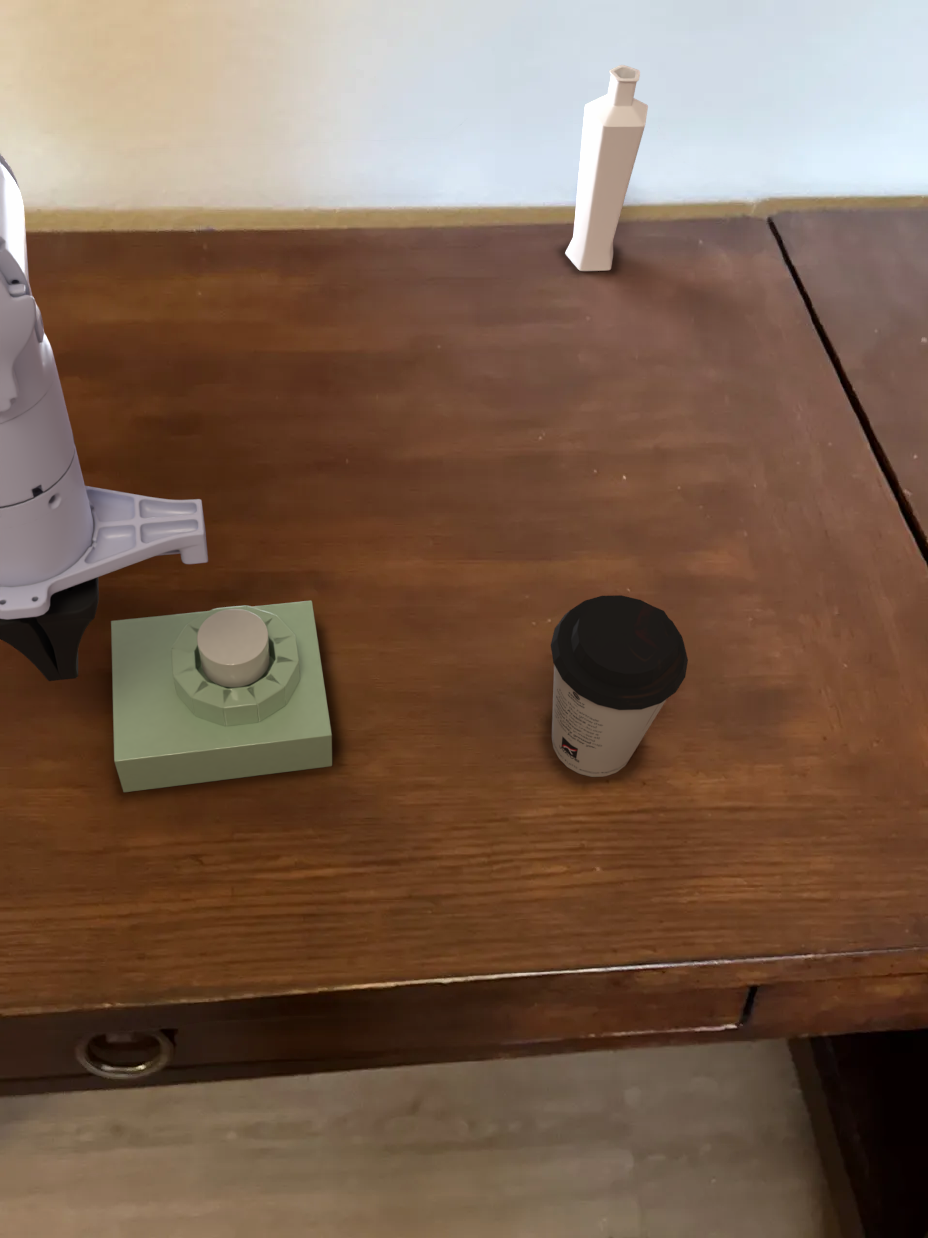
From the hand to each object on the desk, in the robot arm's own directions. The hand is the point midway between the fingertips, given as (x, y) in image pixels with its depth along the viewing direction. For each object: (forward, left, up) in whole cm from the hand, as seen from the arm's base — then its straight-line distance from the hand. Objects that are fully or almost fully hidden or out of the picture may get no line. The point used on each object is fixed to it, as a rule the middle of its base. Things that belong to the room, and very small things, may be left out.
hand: (62, 662), depth 57 cm
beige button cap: (+8, +3, -5) cm, 10 cm away
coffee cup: (+27, -2, -10) cm, 29 cm away
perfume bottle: (+38, +41, -10) cm, 57 cm away
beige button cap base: (+7, +3, -10) cm, 12 cm away
